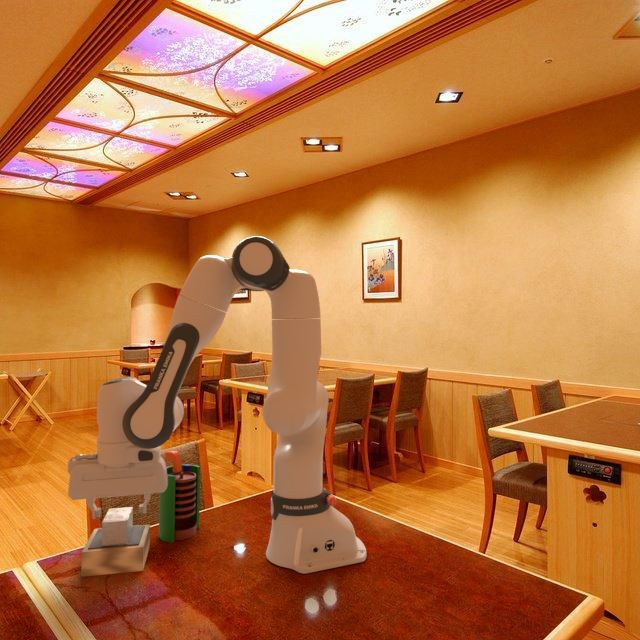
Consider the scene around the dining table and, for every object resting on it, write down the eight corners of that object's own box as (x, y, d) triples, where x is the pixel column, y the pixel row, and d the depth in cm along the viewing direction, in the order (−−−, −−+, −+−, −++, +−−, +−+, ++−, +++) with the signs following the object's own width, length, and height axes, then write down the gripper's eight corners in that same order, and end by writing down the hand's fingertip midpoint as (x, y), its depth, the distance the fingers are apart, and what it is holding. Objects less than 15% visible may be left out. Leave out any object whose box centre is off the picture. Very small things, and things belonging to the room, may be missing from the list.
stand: (149, 546, 118) (149, 523, 118) (143, 570, 106) (143, 545, 106) (94, 550, 115) (94, 527, 115) (81, 576, 104) (81, 550, 104)
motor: (185, 543, 119) (185, 458, 119) (150, 540, 121) (151, 456, 121) (203, 526, 129) (204, 448, 129) (171, 524, 131) (171, 446, 131)
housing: (127, 544, 107) (127, 520, 107) (101, 546, 106) (101, 522, 106) (133, 526, 116) (133, 504, 116) (110, 528, 115) (110, 506, 115)
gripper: (63, 459, 106) (64, 525, 106) (165, 452, 110) (166, 516, 110) (71, 451, 112) (72, 514, 112) (168, 445, 116) (168, 506, 116)
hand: (119, 515), depth 111 cm, fingers open, 8 cm apart
